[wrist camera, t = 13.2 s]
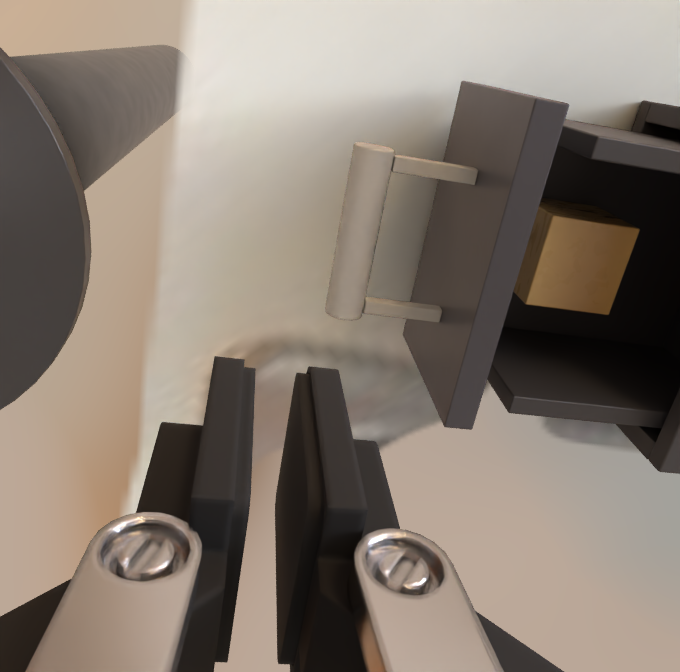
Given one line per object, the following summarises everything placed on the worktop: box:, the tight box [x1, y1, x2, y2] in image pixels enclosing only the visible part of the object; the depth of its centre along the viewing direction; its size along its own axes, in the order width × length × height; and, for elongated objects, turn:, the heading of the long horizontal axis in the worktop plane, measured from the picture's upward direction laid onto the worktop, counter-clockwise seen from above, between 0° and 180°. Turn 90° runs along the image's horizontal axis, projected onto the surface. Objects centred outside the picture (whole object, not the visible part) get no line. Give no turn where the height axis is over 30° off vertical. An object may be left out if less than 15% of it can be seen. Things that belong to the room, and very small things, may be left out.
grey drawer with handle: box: [325, 81, 680, 429], centre depth 28 cm, size 20×13×9 cm, turn 80°
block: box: [513, 198, 640, 315], centre depth 29 cm, size 4×4×4 cm
